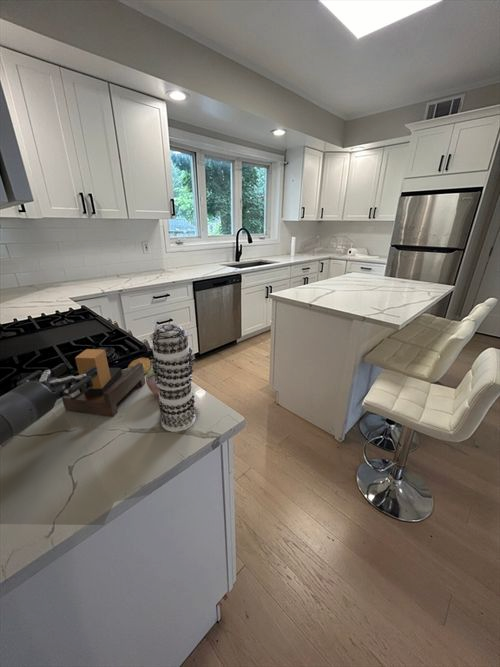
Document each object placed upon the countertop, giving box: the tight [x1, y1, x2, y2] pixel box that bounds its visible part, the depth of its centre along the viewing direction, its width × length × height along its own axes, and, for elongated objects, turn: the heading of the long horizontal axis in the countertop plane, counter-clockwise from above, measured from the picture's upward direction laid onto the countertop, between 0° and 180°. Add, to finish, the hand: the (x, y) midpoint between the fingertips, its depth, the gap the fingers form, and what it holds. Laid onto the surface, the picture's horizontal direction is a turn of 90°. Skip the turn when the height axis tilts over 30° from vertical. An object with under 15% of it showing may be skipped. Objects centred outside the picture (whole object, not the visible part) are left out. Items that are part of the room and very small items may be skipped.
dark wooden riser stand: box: [61, 363, 146, 418], centre depth 78 cm, size 14×16×7 cm
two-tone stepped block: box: [74, 348, 122, 395], centre depth 76 cm, size 11×5×11 cm, turn 179°
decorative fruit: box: [145, 367, 159, 396], centre depth 79 cm, size 9×8×10 cm
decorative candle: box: [149, 324, 197, 433], centre depth 65 cm, size 9×9×25 cm
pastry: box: [127, 357, 151, 375], centre depth 93 cm, size 9×7×4 cm
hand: (80, 368), depth 68 cm, fingers open, 8 cm apart
